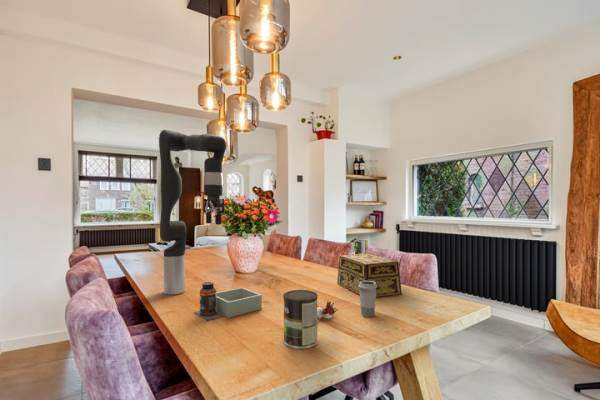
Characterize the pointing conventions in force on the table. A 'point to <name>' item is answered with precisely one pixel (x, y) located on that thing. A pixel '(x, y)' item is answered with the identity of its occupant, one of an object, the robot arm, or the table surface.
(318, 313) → the figurine
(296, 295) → the coffee can
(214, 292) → the supplement bottle
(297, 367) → the table surface
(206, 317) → the dark gray mat
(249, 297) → the sage box
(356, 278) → the decorative box
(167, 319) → the table surface
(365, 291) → the cup
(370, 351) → the table surface
